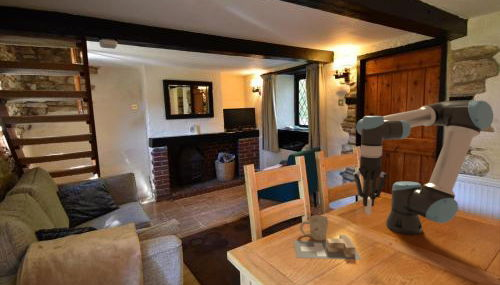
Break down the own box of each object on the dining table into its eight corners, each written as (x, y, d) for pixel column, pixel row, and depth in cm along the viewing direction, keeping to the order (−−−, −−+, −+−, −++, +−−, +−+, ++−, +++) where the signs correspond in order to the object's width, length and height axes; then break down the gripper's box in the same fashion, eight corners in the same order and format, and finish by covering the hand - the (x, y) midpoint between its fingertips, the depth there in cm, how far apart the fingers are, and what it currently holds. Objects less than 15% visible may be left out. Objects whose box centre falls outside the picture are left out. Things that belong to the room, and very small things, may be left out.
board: (351, 245, 112) (351, 241, 112) (361, 263, 99) (361, 259, 99) (293, 243, 114) (293, 240, 114) (296, 261, 101) (296, 257, 101)
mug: (328, 245, 112) (329, 224, 111) (299, 243, 115) (299, 221, 113) (326, 236, 120) (327, 215, 119) (299, 233, 123) (299, 214, 121)
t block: (347, 243, 111) (347, 234, 110) (355, 257, 101) (355, 247, 100) (325, 243, 112) (325, 234, 111) (330, 256, 102) (330, 247, 101)
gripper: (384, 154, 103) (380, 210, 106) (350, 154, 104) (348, 209, 107) (392, 157, 96) (388, 217, 99) (356, 157, 97) (354, 217, 100)
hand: (367, 213), depth 103 cm, fingers closed
